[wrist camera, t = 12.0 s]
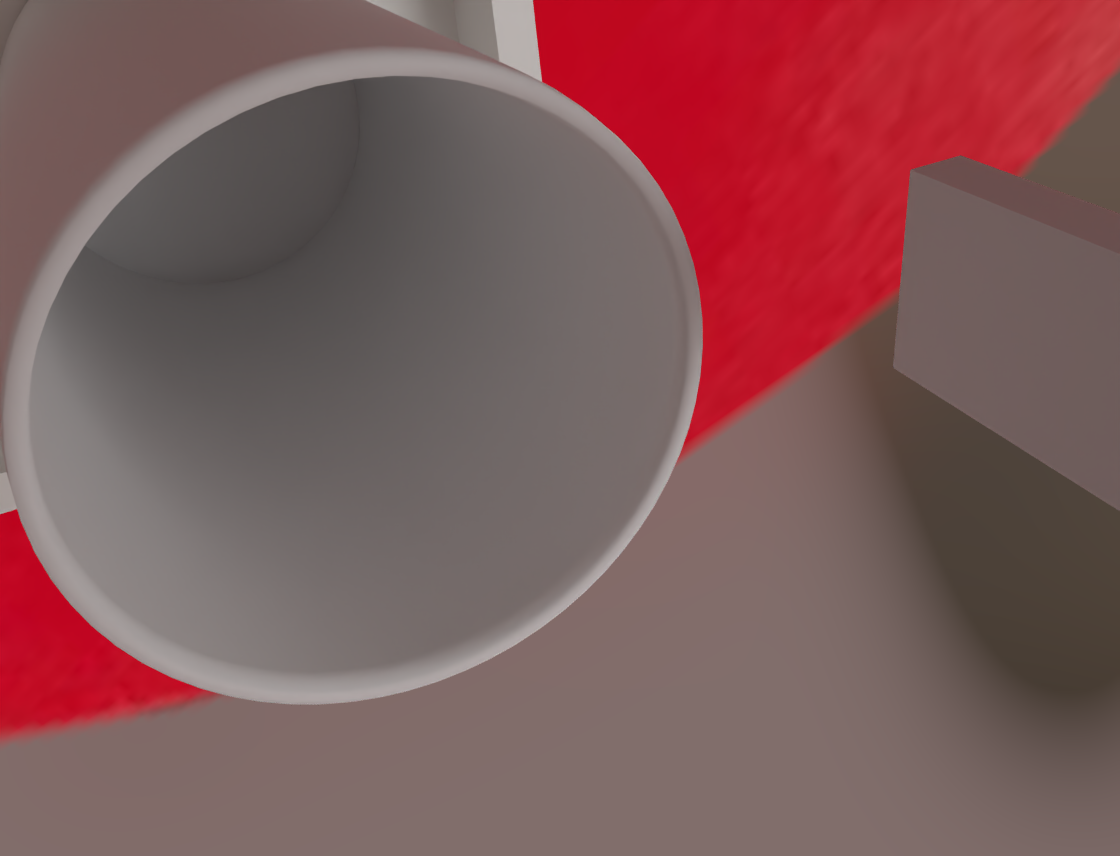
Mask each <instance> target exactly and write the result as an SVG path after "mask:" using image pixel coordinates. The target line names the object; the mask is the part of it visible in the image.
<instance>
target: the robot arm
mask: <svg viewBox="0 0 1120 856" xmlns="http://www.w3.org/2000/svg"><path fill="white" fill-rule="evenodd" d="M893 368H895V369H896V370H898V371H899V372H901V373H902V374H904V375H905V376H907V377H909V378H910V379H912V380H913V381H915V382H917V383H918V384H920V385H921V386H923V387H924V388H926V389H928V390H929V391H931V392H932V393H934V394H936V395H937V396H939V397H940V398H942V399H943V400H945V401H947V402H948V403H950V404H952V405H953V406H955V407H956V408H958V409H959V410H961V411H962V412H964V413H966V414H967V415H969V416H970V417H972V418H973V419H975V420H977V421H978V422H980V423H981V424H983V425H985V426H986V427H988V428H989V429H991V430H992V431H994V432H996V433H997V434H999V435H1000V436H1002V437H1004V438H1005V439H1007V440H1008V441H1010V442H1012V443H1013V444H1014V445H1016V446H1018V447H1019V448H1021V449H1023V450H1024V451H1026V452H1027V453H1029V454H1030V455H1032V456H1033V457H1035V458H1037V459H1038V460H1040V461H1041V462H1043V463H1045V464H1046V465H1048V466H1049V467H1051V468H1052V469H1054V470H1056V471H1057V472H1059V473H1060V474H1062V475H1064V476H1065V477H1067V478H1068V479H1070V480H1071V481H1073V482H1075V483H1076V484H1078V485H1079V486H1081V487H1082V488H1084V489H1086V490H1087V491H1089V492H1090V493H1092V494H1094V495H1095V496H1097V497H1099V498H1100V499H1101V500H1103V501H1105V502H1106V503H1108V504H1109V505H1111V506H1113V507H1114V508H1116V509H1117V510H1119V511H1120V214H1119V213H1116V212H1113V211H1111V210H1108V209H1105V208H1103V207H1100V206H1097V205H1094V204H1092V203H1089V202H1086V201H1083V200H1081V199H1078V198H1075V197H1073V196H1069V195H1067V194H1064V193H1061V192H1059V191H1056V190H1053V189H1050V188H1048V187H1045V186H1042V185H1040V184H1037V183H1034V182H1032V181H1029V180H1026V179H1023V178H1021V177H1018V176H1015V175H1012V174H1010V173H1007V172H1004V171H1002V170H999V169H996V168H993V167H991V166H988V165H985V164H982V163H980V162H977V161H974V160H972V159H969V158H966V157H963V156H957V157H954V158H950V159H947V160H943V161H940V162H936V163H933V164H929V165H926V166H922V167H919V168H915V169H912V170H910V181H909V193H908V204H907V215H906V227H905V238H904V249H903V261H902V272H901V283H900V295H899V307H898V317H897V329H896V341H895V352H894V363H893Z"/></svg>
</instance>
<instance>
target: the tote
mask: <svg viewBox="0 0 1120 856" xmlns="http://www.w3.org/2000/svg"><path fill="white" fill-rule="evenodd" d="M27 1H28V0H0V64H1V59H2V55H3V52H4V48H5V45H6V42H7V39H8V36H9V34H10V32H11V30H12V27H13V25H14V23H15V21H16V19H17V17H18V16H19V14H20V12H21V11H22V9H23V7H24V5H25V4H26V3H27ZM366 1H368V2H370V3H372V4H374V5H377V6H379V7H381V8H383V9H385V10H388V11H390V12H392V13H394V14H397V15H399V16H401V17H403V18H405V19H408V20H410V21H412V22H414V23H416V24H419V25H421V26H423V27H425V28H427V29H430V30H432V31H434V32H436V33H438V34H441V35H443V36H445V37H447V38H450V39H452V40H454V41H456V42H458V43H460V44H463V45H465V46H467V47H469V48H471V49H473V50H476V51H478V52H480V53H482V54H484V55H486V56H489V57H491V58H493V59H495V60H497V61H499V62H502V63H504V64H506V65H508V66H510V67H512V68H515V69H517V70H519V71H521V72H523V73H525V74H527V75H529V76H531V77H533V78H535V79H537V80H539V81H541V82H542V79H541V70H540V61H539V52H538V44H537V35H536V26H535V17H534V8H533V0H366ZM15 509H17V506H16V503H15V500H14V496H13V493H12V490H11V486H10V483H9V479H8V476H7V472H6V468H5V462H4V455H3V449H2V443H1V437H0V514H2V513H5V512H9V511H12V510H15Z"/></svg>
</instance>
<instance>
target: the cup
mask: <svg viewBox="0 0 1120 856" xmlns="http://www.w3.org/2000/svg"><path fill="white" fill-rule="evenodd" d="M702 348H703V340H702V312H701V303H700V294H699V288H698V283H697V278H696V274H695V269H694V264H693V261H692V258H691V255H690V251H689V248H688V245H687V242H686V239H685V236H684V234H683V232H682V229H681V227H680V225H679V223H678V220H677V218H676V216H675V214H674V211H673V209H672V208H671V206H670V204H669V202H668V201H667V199H666V197H665V196H664V194H663V192H662V190H661V189H660V187H659V185H658V184H657V182H656V181H655V180H654V178H653V177H652V176H651V174H650V173H649V172H648V170H647V169H646V168H645V166H644V165H643V164H642V162H641V161H640V160H639V159H638V158H637V157H636V155H635V154H634V153H633V152H632V151H631V150H630V149H629V148H628V147H627V146H626V145H625V144H624V143H623V142H622V141H621V139H620V138H619V137H617V136H616V135H615V134H614V133H613V132H612V131H610V130H609V129H608V128H607V127H606V126H604V125H603V124H602V123H601V122H600V121H599V120H597V119H596V118H595V117H594V116H593V115H591V114H590V113H589V112H588V111H586V110H585V109H584V108H583V107H581V106H580V105H578V104H577V103H575V102H574V101H572V100H571V99H569V98H568V97H566V96H565V95H563V94H562V93H560V92H559V91H557V90H556V89H554V88H552V87H550V86H548V85H547V84H545V83H543V82H541V81H539V80H537V79H535V78H533V77H531V76H529V75H527V74H525V73H523V72H521V71H519V70H517V69H515V68H512V67H510V66H508V65H506V64H504V63H502V62H499V61H497V60H495V59H493V58H491V57H489V56H486V55H484V54H482V53H480V52H478V51H476V50H473V49H471V48H469V47H467V46H465V45H463V44H460V43H458V42H456V41H454V40H452V39H450V38H447V37H445V36H443V35H441V34H438V33H436V32H434V31H432V30H430V29H427V28H425V27H423V26H421V25H419V24H416V23H414V22H412V21H410V20H408V19H405V18H403V17H401V16H399V15H397V14H394V13H392V12H390V11H388V10H385V9H383V8H381V7H379V6H377V5H374V4H372V3H370V2H368V1H366V0H28V1H27V3H26V4H25V5H24V7H23V9H22V11H21V12H20V14H19V16H18V17H17V19H16V21H15V23H14V25H13V27H12V30H11V32H10V34H9V36H8V39H7V42H6V45H5V48H4V52H3V55H2V59H1V64H0V437H1V443H2V449H3V455H4V462H5V468H6V472H7V476H8V479H9V483H10V486H11V490H12V493H13V496H14V500H15V503H16V506H17V510H18V513H19V517H20V520H21V522H22V525H23V527H24V529H25V531H26V534H27V536H28V538H29V540H30V543H31V545H32V547H33V550H34V552H35V553H36V555H37V557H38V558H39V560H40V562H41V563H42V565H43V567H44V568H45V570H46V572H47V573H48V575H49V577H50V578H51V580H52V581H53V582H54V584H55V585H56V586H57V588H58V589H59V590H60V591H61V593H62V594H63V595H64V597H65V598H66V599H67V600H68V602H69V603H70V604H71V605H72V606H73V607H74V608H75V609H76V610H77V611H78V612H79V613H80V614H81V616H82V617H83V618H84V619H85V620H86V621H87V622H88V623H89V624H90V625H91V626H92V627H93V628H95V629H96V630H97V631H98V632H100V633H101V634H102V635H103V636H105V637H106V638H107V639H108V640H110V641H111V642H112V643H113V644H115V645H116V646H117V647H119V648H120V649H122V650H123V651H125V652H126V653H128V654H129V655H131V656H133V657H134V658H136V659H137V660H139V661H140V662H142V663H144V664H146V665H148V666H150V667H152V668H154V669H156V670H158V671H160V672H162V673H164V674H166V675H168V676H170V677H172V678H174V679H177V680H180V681H182V682H185V683H188V684H190V685H193V686H196V687H198V688H201V689H205V690H208V691H212V692H216V693H219V694H223V695H227V696H231V697H237V698H242V699H248V700H253V701H259V702H270V703H281V704H330V703H344V702H353V701H359V700H366V699H373V698H379V697H384V696H388V695H392V694H397V693H401V692H405V691H409V690H412V689H416V688H419V687H422V686H425V685H428V684H432V683H435V682H438V681H440V680H443V679H445V678H448V677H451V676H453V675H455V674H458V673H461V672H463V671H466V670H467V669H470V668H472V667H474V666H476V665H478V664H480V663H483V662H485V661H487V660H489V659H491V658H492V657H494V656H496V655H498V654H500V653H502V652H503V651H505V650H507V649H508V648H510V647H512V646H514V645H516V644H517V643H519V642H520V641H522V640H523V639H525V638H526V637H528V636H529V635H531V634H533V633H534V632H536V631H537V630H539V629H540V628H541V627H543V626H544V625H545V624H547V623H548V622H549V621H551V620H552V619H553V618H555V617H556V616H557V615H558V614H560V613H561V612H562V611H564V610H565V609H566V608H567V607H568V606H569V605H570V604H572V603H573V602H574V601H575V600H576V599H577V598H579V597H580V596H581V595H582V594H583V593H584V592H585V591H586V590H587V589H588V588H589V587H590V586H591V585H592V584H593V583H594V582H595V581H596V580H597V579H598V578H599V577H600V576H601V575H602V574H603V573H604V572H605V571H606V570H607V569H608V567H609V566H610V565H611V564H612V563H613V562H614V561H615V560H616V558H617V557H618V556H619V555H620V554H621V553H622V551H623V550H624V549H625V548H626V546H627V545H628V544H629V542H630V541H631V540H632V538H633V537H634V535H635V534H636V533H637V531H638V530H639V529H640V527H641V526H642V524H643V523H644V521H645V520H646V518H647V516H648V515H649V513H650V512H651V510H652V509H653V507H654V505H655V504H656V502H657V500H658V498H659V496H660V494H661V492H662V491H663V489H664V487H665V485H666V483H667V481H668V479H669V477H670V475H671V472H672V470H673V468H674V466H675V464H676V461H677V459H678V457H679V455H680V452H681V449H682V446H683V443H684V440H685V438H686V435H687V432H688V429H689V425H690V422H691V418H692V414H693V410H694V406H695V402H696V397H697V391H698V385H699V379H700V373H701V360H702Z"/></svg>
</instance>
